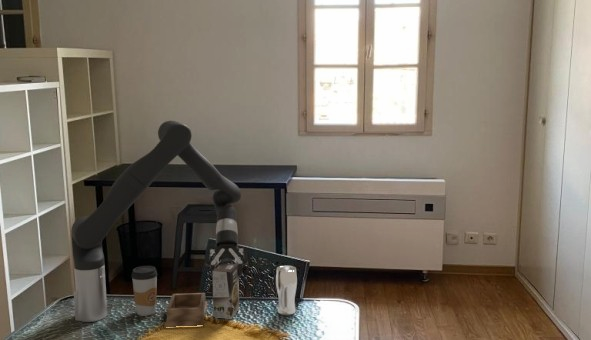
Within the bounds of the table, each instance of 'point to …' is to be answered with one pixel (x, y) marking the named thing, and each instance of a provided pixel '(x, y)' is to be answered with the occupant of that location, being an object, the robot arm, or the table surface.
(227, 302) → the coffee box
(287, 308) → the beer glass
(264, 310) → the table surface
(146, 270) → the coffee cup
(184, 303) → the brown open box holder
